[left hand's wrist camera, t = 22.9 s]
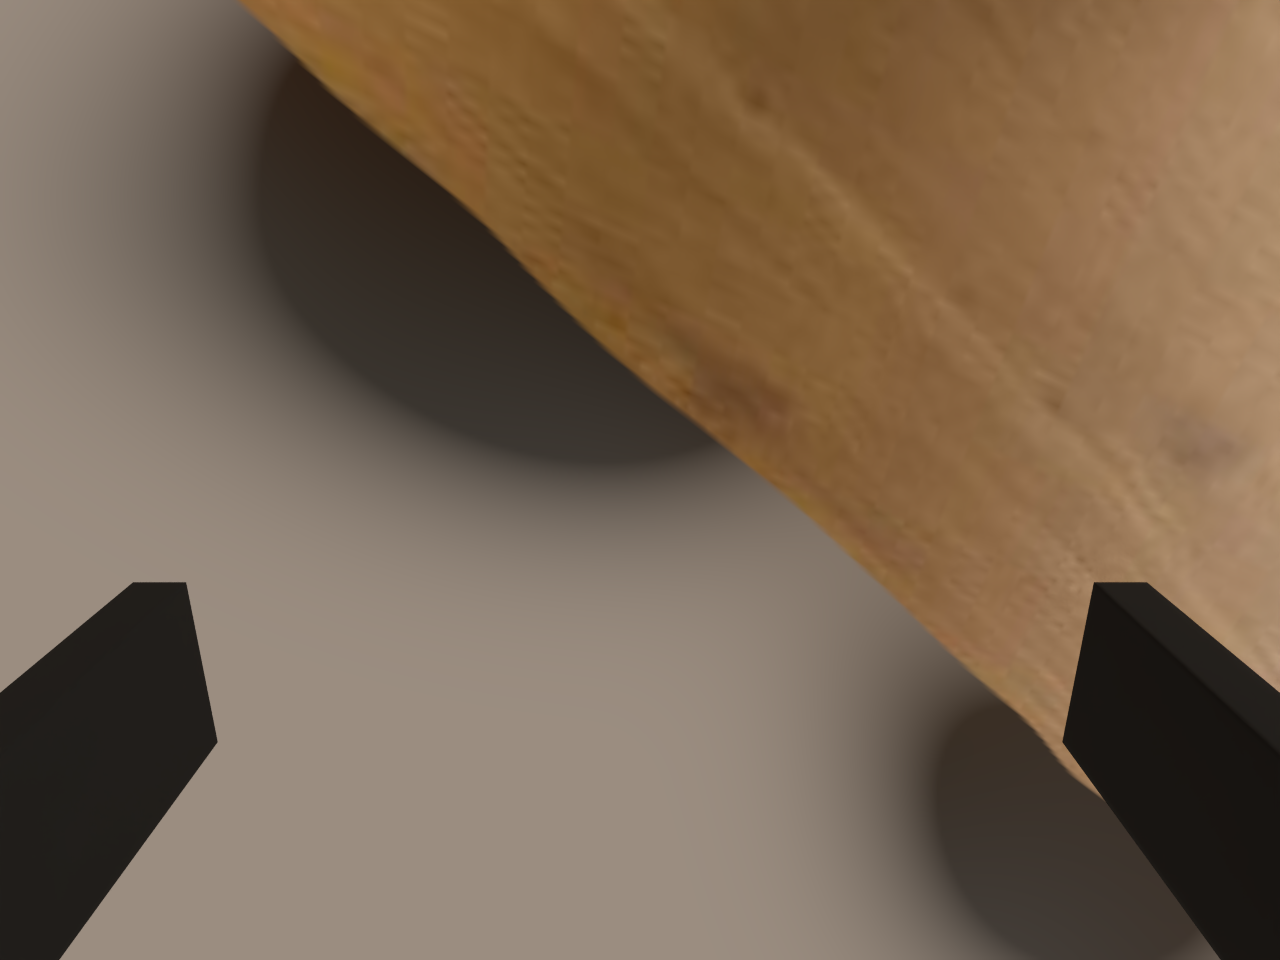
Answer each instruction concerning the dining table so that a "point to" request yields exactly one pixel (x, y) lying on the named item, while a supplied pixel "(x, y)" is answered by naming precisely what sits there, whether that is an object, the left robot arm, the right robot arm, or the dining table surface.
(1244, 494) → the dining table surface
